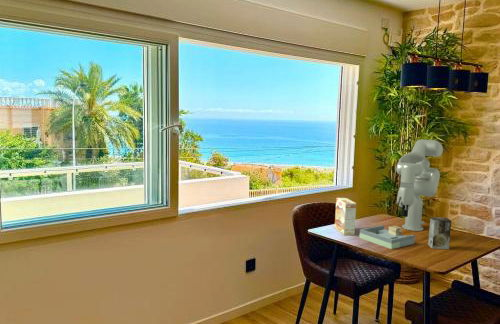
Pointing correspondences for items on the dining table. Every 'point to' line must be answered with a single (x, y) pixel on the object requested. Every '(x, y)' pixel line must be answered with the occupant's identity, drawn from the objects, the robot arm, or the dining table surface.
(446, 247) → the coffee box
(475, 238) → the dining table surface
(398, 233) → the maple block
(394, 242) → the box
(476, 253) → the dining table surface
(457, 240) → the dining table surface
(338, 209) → the coffeecake box
